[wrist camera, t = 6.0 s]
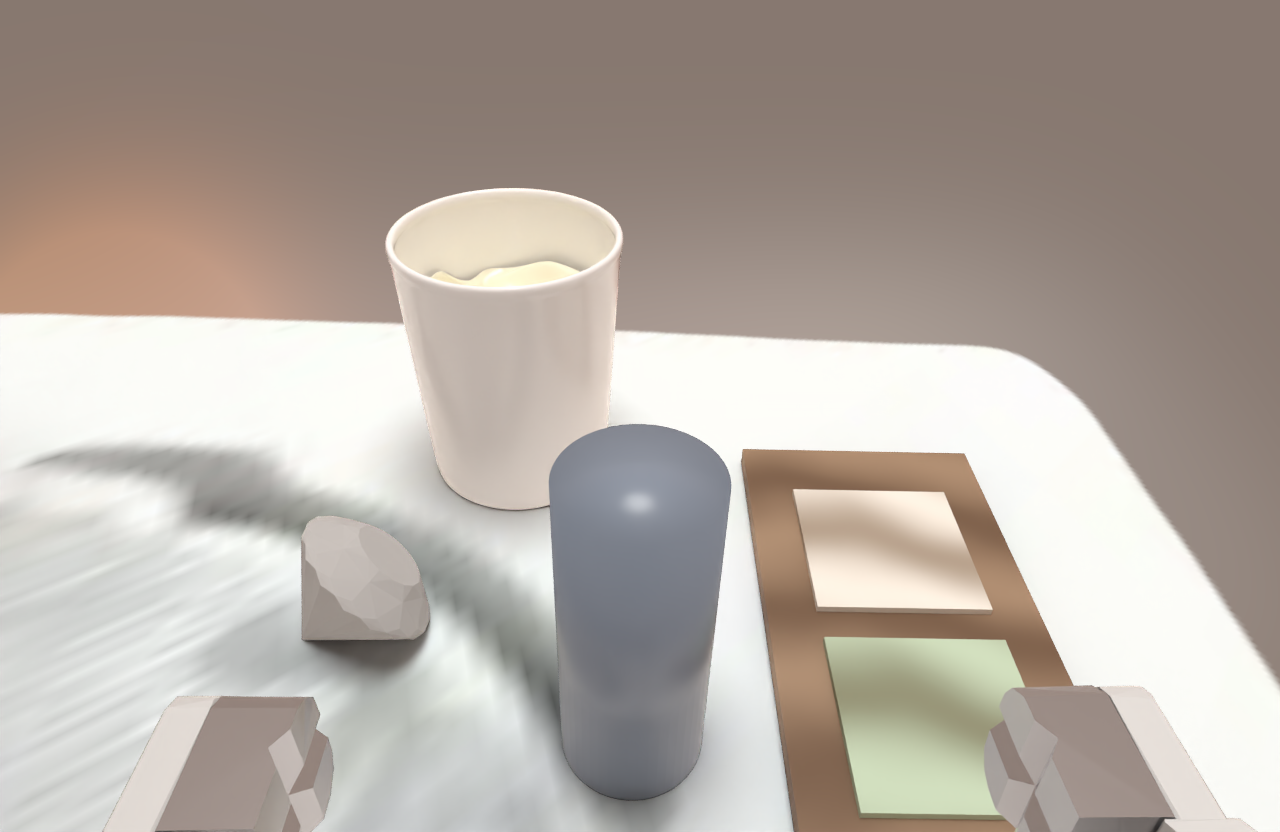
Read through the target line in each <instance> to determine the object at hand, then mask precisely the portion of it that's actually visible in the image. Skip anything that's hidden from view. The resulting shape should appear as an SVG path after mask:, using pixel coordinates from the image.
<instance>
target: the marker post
mask: <svg viewBox="0 0 1280 832" xmlns="http://www.w3.org/2000/svg"><path fill="white" fill-rule="evenodd" d="M730 495H731V479H730V475H729V472H728V469H727V467H726V465H725V463H724V462H723V460H722V459H721V458H720V456H719V455H718V454H717V453H716V452H715V451H714V450H713V449H712V448H710V447H709V446H708V445H706V444H705V443H704V442H702V441H700V440H699V439H697V438H695V437H693V436H691V435H689V434H687V433H684V432H681V431H678V430H675V429H671V428H667V427H662V426H656V425H646V424H629V425H619V426H612V427H608V428H604V429H600V430H597V431H594V432H592V433H589V434H587V435H585V436H583V437H581V438H579V439H577V440H576V441H574V442H573V443H571V444H570V445H569V446H567V447H566V448H565V449H564V450H563V451H562V452H561V453H560V455H559V456H558V457H557V458H556V460H555V462H554V464H553V466H552V468H551V471H550V474H549V499H550V519H551V538H552V558H553V577H554V597H555V616H556V635H557V655H558V674H559V694H560V713H561V733H562V746H563V751H564V754H565V757H566V760H567V762H568V764H569V766H570V767H571V769H572V770H573V772H574V773H575V774H576V776H577V777H578V778H579V779H580V780H581V781H582V782H583V783H585V784H586V785H587V786H589V787H590V788H592V789H593V790H595V791H597V792H599V793H601V794H603V795H606V796H609V797H612V798H616V799H623V800H642V799H648V798H652V797H656V796H659V795H661V794H664V793H666V792H668V791H669V790H671V789H673V788H674V787H676V786H677V785H678V784H680V783H681V782H682V781H683V780H684V779H685V778H686V777H687V776H688V775H689V773H690V772H691V771H692V769H693V767H694V766H695V764H696V762H697V759H698V757H699V754H700V750H701V744H702V735H703V727H704V718H705V710H706V701H707V692H708V684H709V675H710V667H711V658H712V649H713V641H714V632H715V624H716V615H717V606H718V598H719V589H720V581H721V572H722V563H723V555H724V546H725V538H726V529H727V520H728V512H729V503H730Z"/></svg>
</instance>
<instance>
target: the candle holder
mask: <svg viewBox="0 0 1280 832" xmlns="http://www.w3.org/2000/svg"><path fill="white" fill-rule="evenodd" d="M622 248H623V233H622V229H621V227H620V225H619V223H618V222H617V221H616V219H615V218H614V217H613V216H612V215H611V214H610V213H608V212H607V211H606V210H604V209H603V208H601V207H600V206H598V205H596V204H594V203H591V202H589V201H587V200H584V199H581V198H578V197H575V196H572V195H568V194H564V193H558V192H553V191H546V190H538V189H523V188H502V189H489V190H488V189H487V190H478V191H471V192H465V193H460V194H455V195H451V196H447V197H444V198H441V199H437V200H434V201H431V202H429V203H427V204H424V205H422V206H420V207H417V208H415V209H414V210H412V211H410V212H409V213H407V214H405V215H404V216H403V217H401V218H400V219H399V220H398V221H397V222H396V223H395V224H394V225H393V226H392V228H391V229H390V231H389V232H388V235H387V238H386V242H385V250H386V256H387V259H388V261H389V263H390V266H391V269H392V274H393V278H394V282H395V286H396V290H397V295H398V299H399V303H400V308H401V312H402V316H403V321H404V325H405V330H406V334H407V338H408V343H409V347H410V351H411V356H412V360H413V365H414V369H415V373H416V378H417V382H418V386H419V391H420V395H421V399H422V404H423V408H424V412H425V417H426V421H427V425H428V430H429V434H430V438H431V442H432V446H433V450H434V454H435V458H436V462H437V465H438V468H439V471H440V473H441V475H442V477H443V479H444V480H445V482H446V483H447V484H448V485H449V486H450V487H451V488H452V489H453V490H454V491H455V492H456V493H458V494H459V495H461V496H462V497H464V498H466V499H468V500H470V501H472V502H474V503H477V504H480V505H483V506H487V507H492V508H497V509H507V510H523V509H533V508H539V507H544V506H548V505H550V499H549V474H550V471H551V468H552V466H553V464H554V462H555V460H556V458H557V457H558V456H559V455H560V453H561V452H562V451H563V450H564V449H565V448H566V447H567V446H569V445H570V444H571V443H573V442H574V441H576V440H577V439H579V438H581V437H583V436H585V435H587V434H589V433H592V432H594V431H597V430H600V429H604V428H608V418H609V406H610V392H611V379H612V365H613V351H614V337H615V323H616V309H617V296H618V281H619V269H620V257H621V252H622Z"/></svg>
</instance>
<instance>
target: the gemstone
mask: <svg viewBox="0 0 1280 832" xmlns="http://www.w3.org/2000/svg"><path fill="white" fill-rule="evenodd" d="M301 575H302V640H399V639H416V638H417V637H418V636H420V635H421V634H423V633H424V631H425V630H426V627H427V625H428V623H429V620H430V612H429V603H428V600H427V596H426V593H425V589H424V586H423V583H422V579H421V576H420V572H419V570H418V567H417V564H416V563H415V561H414V560H413V558H412V556H411V555H410V553H409V552H408V551H407V550H406V549H405V548H404V547H403V546H402V545H401V543H400V542H398V541H397V540H396V539H395V538H393V537H392V536H391V535H390V534H388V533H386V532H385V531H383V530H381V529H379V528H377V527H374V526H371V525H369V524H366V523H362V522H359V521H355V520H351V519H347V518H342V517H337V516H319V517H316V518H314V519H313V520H311V521H310V522H308V523H307V526H306V528H305V530H304V533H303V535H302V537H301Z"/></svg>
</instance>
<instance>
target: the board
mask: <svg viewBox="0 0 1280 832" xmlns="http://www.w3.org/2000/svg"><path fill="white" fill-rule="evenodd" d="M741 463H742V470H743V477H744V484H745V491H746V498H747V505H748V512H749V519H750V526H751V533H752V540H753V547H754V554H755V561H756V568H757V575H758V582H759V589H760V596H761V603H762V610H763V617H764V624H765V631H766V638H767V645H768V652H769V659H770V666H771V673H772V680H773V687H774V694H775V701H776V708H777V715H778V722H779V729H780V736H781V743H782V750H783V757H784V764H785V771H786V778H787V785H788V792H789V799H790V806H791V813H792V820H793V827H794V832H1015V830H1016V828H1015V827H1014V826H1013V825H1012V824H1011V823H1010V822H1008V821H1007V820H1006V819H1005V818H1004V817H1003V816H1002V815H1001V814H1000V813H999V812H997V811H996V809H995V806H994V804H993V801H992V798H991V795H990V792H989V789H988V785H987V780H986V776H985V771H984V746H985V743H986V740H987V737H988V734H989V731H990V729H992V728H993V727H995V726H996V725H998V724H999V723H1001V722H1002V721H1003V720H1004V718H1003V715H1002V713H1001V710H1000V708H999V705H1000V703H1001V700H1002V698H1003V696H1004V693H1005V692H1007V691H1008V690H1010V689H1011V688H1018V687H1055V686H1073V684H1072V681H1071V679H1070V677H1069V675H1068V673H1067V671H1066V669H1065V667H1064V664H1063V662H1062V660H1061V658H1060V656H1059V654H1058V652H1057V650H1056V647H1055V645H1054V643H1053V641H1052V639H1051V637H1050V635H1049V633H1048V630H1047V628H1046V626H1045V624H1044V622H1043V620H1042V618H1041V616H1040V613H1039V611H1038V609H1037V607H1036V605H1035V603H1034V601H1033V599H1032V596H1031V594H1030V592H1029V590H1028V588H1027V586H1026V584H1025V582H1024V579H1023V577H1022V575H1021V573H1020V571H1019V569H1018V567H1017V565H1016V562H1015V560H1014V558H1013V556H1012V554H1011V552H1010V550H1009V548H1008V545H1007V543H1006V541H1005V539H1004V537H1003V535H1002V533H1001V531H1000V528H999V526H998V524H997V522H996V520H995V518H994V516H993V514H992V511H991V509H990V507H989V505H988V503H987V501H986V499H985V497H984V494H983V492H982V490H981V488H980V486H979V484H978V482H977V480H976V477H975V475H974V473H973V471H972V469H971V467H970V465H969V463H968V460H967V458H966V456H965V454H960V453H909V452H859V451H809V450H758V449H743V452H742V460H741Z"/></svg>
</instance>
